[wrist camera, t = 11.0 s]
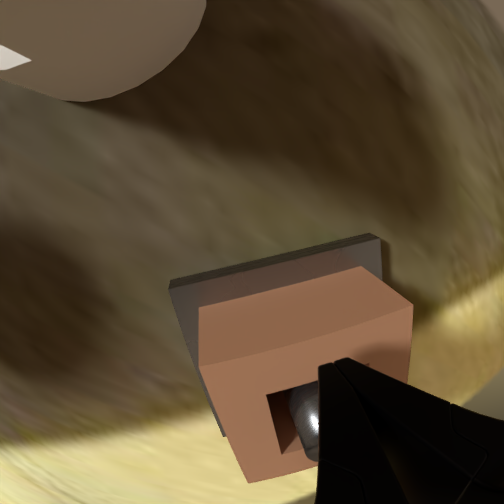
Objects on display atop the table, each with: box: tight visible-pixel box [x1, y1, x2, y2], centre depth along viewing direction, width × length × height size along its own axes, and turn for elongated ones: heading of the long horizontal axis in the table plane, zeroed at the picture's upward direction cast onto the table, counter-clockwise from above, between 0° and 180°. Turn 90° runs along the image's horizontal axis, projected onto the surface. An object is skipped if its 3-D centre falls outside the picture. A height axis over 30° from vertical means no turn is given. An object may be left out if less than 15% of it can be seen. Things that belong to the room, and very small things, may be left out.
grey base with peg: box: [168, 233, 382, 462], centre depth 12 cm, size 9×9×6 cm
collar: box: [199, 266, 413, 483], centre depth 12 cm, size 7×7×4 cm
